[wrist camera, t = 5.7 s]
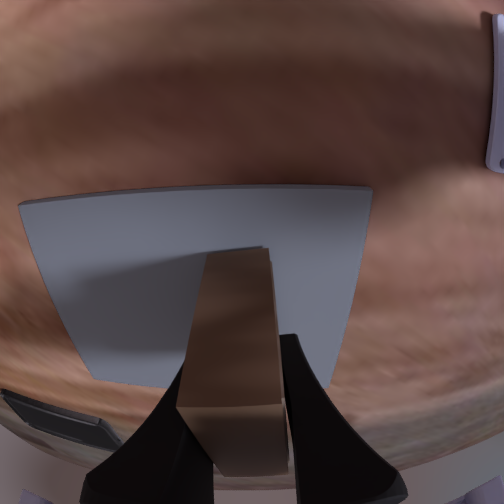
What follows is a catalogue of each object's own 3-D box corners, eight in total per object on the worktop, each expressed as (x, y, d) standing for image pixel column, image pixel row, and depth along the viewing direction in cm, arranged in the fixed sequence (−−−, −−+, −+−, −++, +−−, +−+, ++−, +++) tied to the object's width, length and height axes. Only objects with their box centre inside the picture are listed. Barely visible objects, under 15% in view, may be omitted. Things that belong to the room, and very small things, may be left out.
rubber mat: (369, 186, 12) (373, 190, 11) (327, 381, 18) (328, 387, 18) (23, 201, 12) (18, 205, 11) (95, 373, 18) (93, 378, 18)
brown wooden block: (270, 247, 12) (284, 403, 6) (280, 347, 15) (290, 474, 9) (207, 254, 12) (175, 406, 6) (231, 351, 16) (224, 476, 10)
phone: (-4, 391, 22) (103, 425, 22) (0, 384, 23) (106, 416, 23) (28, 426, 26) (128, 456, 26) (31, 419, 27) (130, 448, 27)
